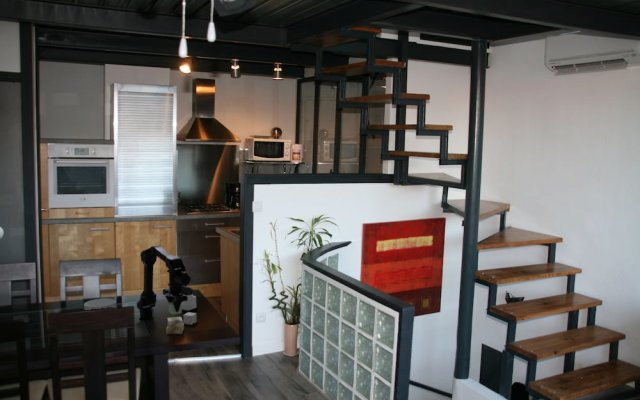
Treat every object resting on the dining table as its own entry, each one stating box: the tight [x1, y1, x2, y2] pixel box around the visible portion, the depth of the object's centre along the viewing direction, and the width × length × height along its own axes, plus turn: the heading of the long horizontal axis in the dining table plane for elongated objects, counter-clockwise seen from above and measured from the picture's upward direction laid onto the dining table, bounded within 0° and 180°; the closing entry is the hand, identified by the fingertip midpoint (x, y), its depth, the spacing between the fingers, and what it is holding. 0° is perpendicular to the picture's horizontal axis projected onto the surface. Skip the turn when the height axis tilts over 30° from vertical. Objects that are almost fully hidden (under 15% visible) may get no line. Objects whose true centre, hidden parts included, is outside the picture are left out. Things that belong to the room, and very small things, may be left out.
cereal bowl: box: [83, 298, 117, 311], centre depth 333 cm, size 17×17×7 cm
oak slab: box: [165, 322, 185, 335], centre depth 308 cm, size 8×8×4 cm
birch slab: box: [167, 316, 184, 329], centre depth 307 cm, size 7×7×4 cm
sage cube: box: [168, 302, 183, 316], centre depth 307 cm, size 5×5×5 cm
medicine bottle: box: [181, 287, 197, 312], centre depth 346 cm, size 7×7×12 cm
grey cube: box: [182, 311, 197, 325], centre depth 322 cm, size 5×5×5 cm
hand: (175, 310), depth 307 cm, fingers closed on sage cube, 5 cm apart
